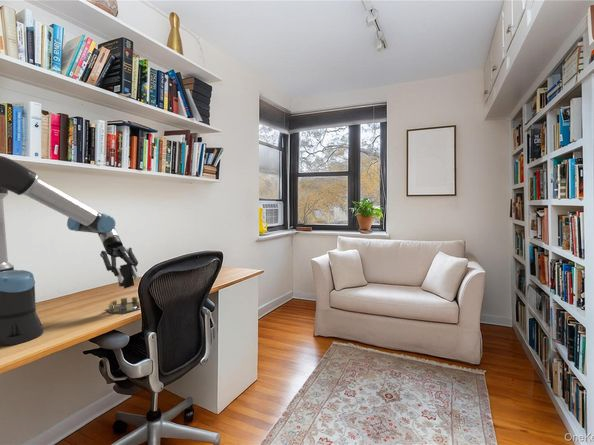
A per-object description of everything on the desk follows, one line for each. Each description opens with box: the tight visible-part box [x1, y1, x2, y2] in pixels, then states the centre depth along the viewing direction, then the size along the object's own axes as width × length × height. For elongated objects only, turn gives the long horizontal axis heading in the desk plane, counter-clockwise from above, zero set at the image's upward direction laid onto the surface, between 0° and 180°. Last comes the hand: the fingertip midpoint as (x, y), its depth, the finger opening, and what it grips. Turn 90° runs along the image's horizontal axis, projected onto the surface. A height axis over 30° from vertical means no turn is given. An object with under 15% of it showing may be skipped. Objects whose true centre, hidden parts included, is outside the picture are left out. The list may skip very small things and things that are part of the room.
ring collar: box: [107, 296, 141, 315], centre depth 148 cm, size 15×15×3 cm
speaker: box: [117, 263, 135, 290], centre depth 147 cm, size 8×6×10 cm
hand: (129, 279), depth 145 cm, fingers closed on speaker, 6 cm apart
